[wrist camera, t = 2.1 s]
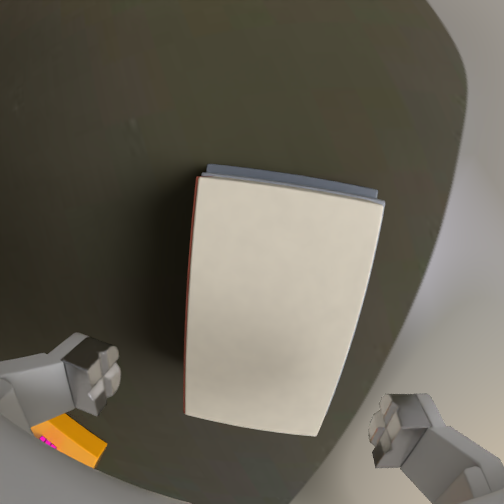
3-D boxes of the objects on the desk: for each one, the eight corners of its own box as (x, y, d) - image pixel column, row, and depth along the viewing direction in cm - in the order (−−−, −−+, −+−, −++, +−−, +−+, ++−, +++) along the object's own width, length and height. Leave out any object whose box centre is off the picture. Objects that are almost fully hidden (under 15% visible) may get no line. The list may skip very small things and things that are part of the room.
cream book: (211, 175, 12) (194, 176, 10) (369, 200, 12) (384, 205, 10) (194, 388, 15) (182, 414, 13) (315, 408, 15) (316, 437, 13)
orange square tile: (43, 394, 22) (19, 417, 18) (108, 443, 22) (88, 472, 18) (40, 427, 24) (21, 448, 20) (95, 468, 25) (79, 492, 20)
